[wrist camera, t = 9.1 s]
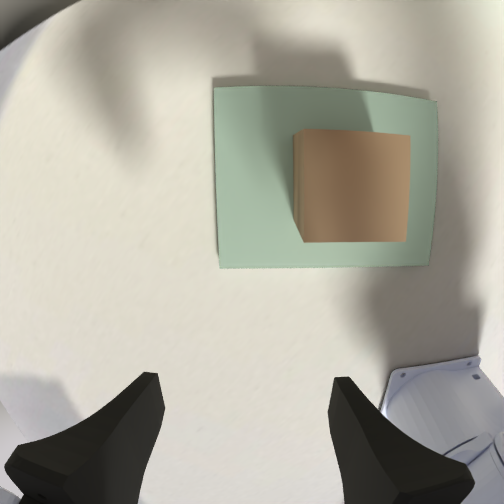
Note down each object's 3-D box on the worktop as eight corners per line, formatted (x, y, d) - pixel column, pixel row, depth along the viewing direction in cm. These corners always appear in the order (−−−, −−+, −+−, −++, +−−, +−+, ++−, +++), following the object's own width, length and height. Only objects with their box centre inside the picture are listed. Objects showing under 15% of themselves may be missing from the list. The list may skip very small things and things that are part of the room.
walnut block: (375, 138, 17) (410, 135, 13) (373, 220, 19) (405, 241, 14) (292, 135, 18) (303, 128, 13) (293, 220, 19) (303, 242, 14)
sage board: (431, 102, 17) (437, 101, 16) (423, 261, 20) (428, 265, 20) (215, 90, 18) (213, 87, 17) (221, 264, 21) (219, 268, 20)
